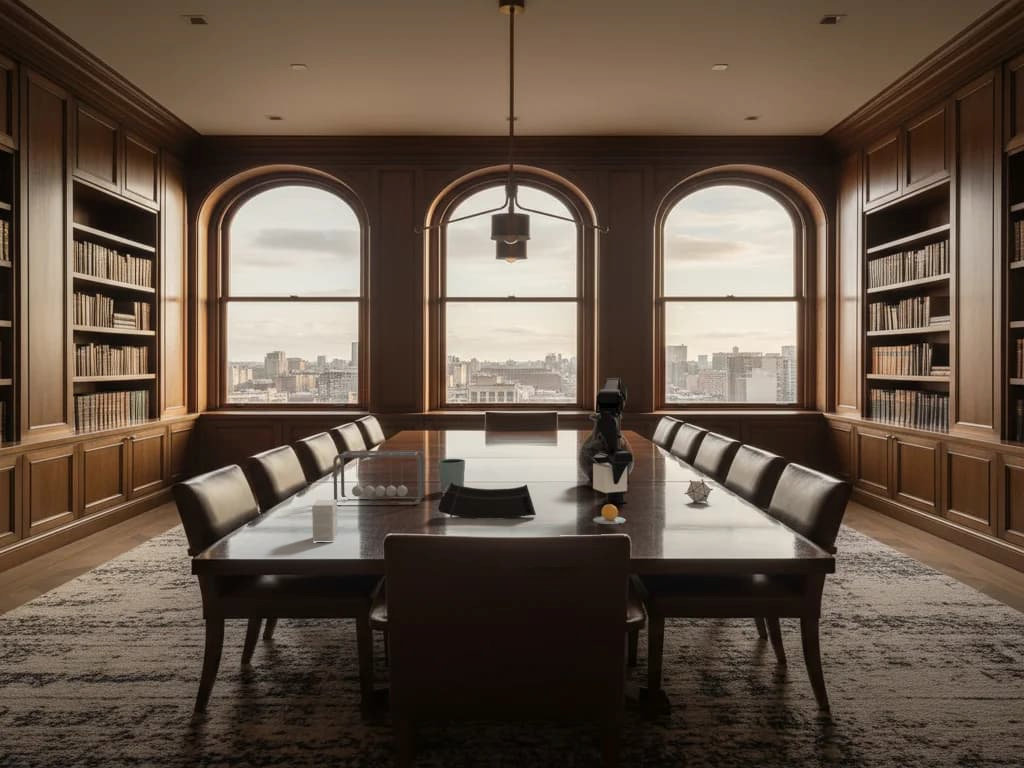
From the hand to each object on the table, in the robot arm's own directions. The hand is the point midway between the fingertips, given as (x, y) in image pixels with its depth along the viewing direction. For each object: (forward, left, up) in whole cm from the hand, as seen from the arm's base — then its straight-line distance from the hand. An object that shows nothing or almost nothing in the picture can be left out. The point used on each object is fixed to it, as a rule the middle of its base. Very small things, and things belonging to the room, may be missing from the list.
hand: (609, 481), depth 215 cm
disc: (0, 0, -12) cm, 12 cm away
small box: (-11, -84, -12) cm, 86 cm away
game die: (-11, +41, -12) cm, 44 cm away
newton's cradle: (-55, -60, -12) cm, 83 cm away
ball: (0, 0, -10) cm, 10 cm away
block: (0, 0, -2) cm, 2 cm away
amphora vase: (-51, +27, -12) cm, 59 cm away
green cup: (-63, -32, -12) cm, 72 cm away
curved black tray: (-19, -34, -12) cm, 40 cm away
